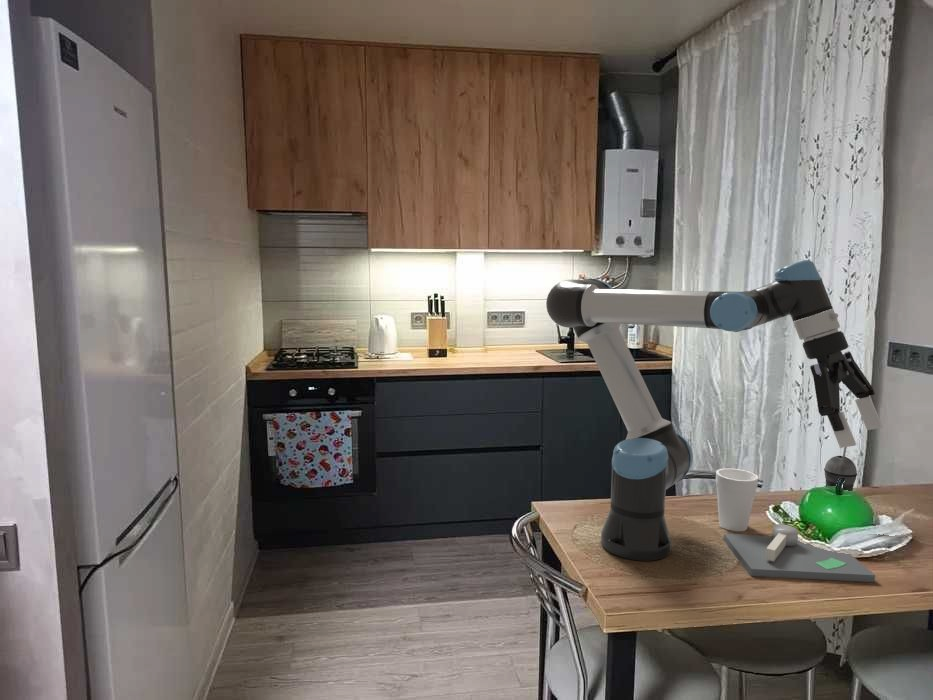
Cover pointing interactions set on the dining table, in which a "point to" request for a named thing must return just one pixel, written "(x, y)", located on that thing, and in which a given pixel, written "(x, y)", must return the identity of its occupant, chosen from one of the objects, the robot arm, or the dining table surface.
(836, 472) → the beverage cup
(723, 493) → the foam cup
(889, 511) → the dining table surface
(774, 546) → the white knobbed bar
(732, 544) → the board
